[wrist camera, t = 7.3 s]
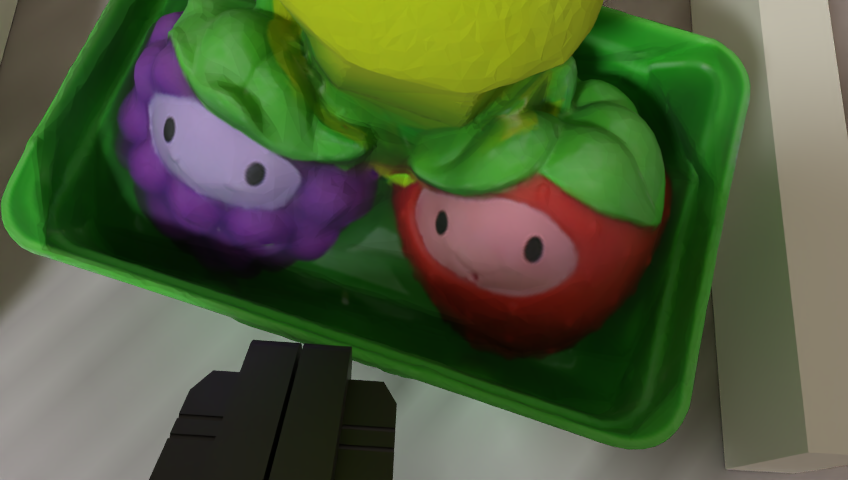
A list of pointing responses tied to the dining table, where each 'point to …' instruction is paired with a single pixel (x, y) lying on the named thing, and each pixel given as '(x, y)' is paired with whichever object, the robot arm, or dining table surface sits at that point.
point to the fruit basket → (410, 188)
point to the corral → (775, 240)
